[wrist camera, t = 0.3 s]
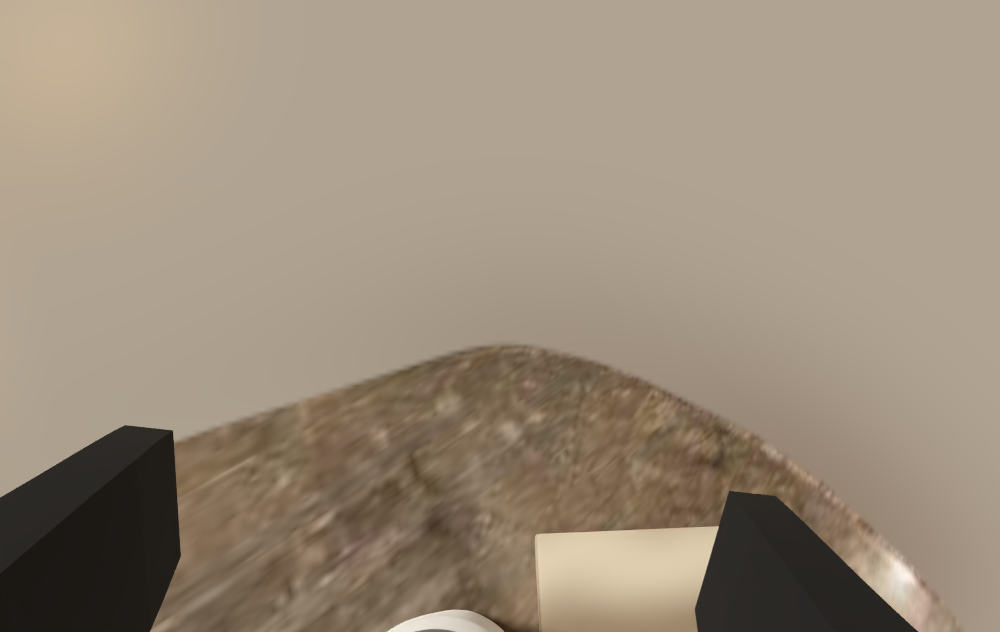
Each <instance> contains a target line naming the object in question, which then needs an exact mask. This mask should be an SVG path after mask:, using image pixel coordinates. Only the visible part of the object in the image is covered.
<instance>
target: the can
mask: <svg viewBox="0 0 1000 632" xmlns="http://www.w3.org/2000/svg"><path fill="white" fill-rule="evenodd" d="M388 632H504V631H503V630H502V629H501V628H500V627H499V626H498V625H497V624H495V623H494V622H492V621H491V620H489V619H488V618H486V617H484V616H482V615H480V614H478V613H475V612H472V611H467V610H447V611H441V612H436V613H431V614H427V615H423V616H419V617H416V618H413V619H410V620H408V621H405V622H403V623H401V624H399V625H397V626H396V627H394V628H392V629H391V630H389V631H388Z"/></svg>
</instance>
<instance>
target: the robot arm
mask: <svg viewBox="0 0 1000 632" xmlns="http://www.w3.org/2000/svg"><path fill="white" fill-rule="evenodd" d="M180 557H181V553H180V537H179V521H178V505H177V488H176V472H175V456H174V440H173V431H172V430H162V429H154V428H145V427H135V426H126V425H125V426H123V427H121V428H119V429H117V430H115V431H113V432H111V433H110V434H108V435H106V436H104V437H102V438H101V439H99V440H97V441H95V442H94V443H92V444H90V445H89V446H87V447H85V448H83V449H82V450H80V451H79V452H77V453H75V454H73V455H72V456H70V457H69V458H67V459H65V460H63V461H62V462H60V463H58V464H57V465H55V466H53V467H52V468H50V469H48V470H47V471H45V472H43V473H42V474H40V475H38V476H37V477H35V478H33V479H31V480H30V481H28V482H26V483H25V484H23V485H21V486H20V487H18V488H16V489H14V490H13V491H11V492H9V493H7V494H6V495H4V496H2V497H1V498H0V632H150V630H151V628H152V625H153V623H154V621H155V618H156V616H157V614H158V611H159V609H160V607H161V604H162V602H163V600H164V597H165V595H166V592H167V590H168V587H169V585H170V582H171V580H172V577H173V574H174V572H175V569H176V567H177V564H178V562H179V559H180ZM695 616H696V623H697V630H698V632H918V631H917V630H916V629H914V628H913V627H912V626H911V625H910V624H909V623H908V622H907V621H906V620H905V619H904V618H902V617H901V616H900V615H899V614H898V613H897V612H896V611H895V610H894V609H893V608H892V607H891V606H890V605H888V604H887V603H886V602H885V601H884V600H883V599H882V598H881V597H880V596H879V595H878V594H877V593H876V592H875V591H874V590H873V589H872V588H871V587H870V586H869V585H868V584H866V583H865V582H864V581H863V580H862V579H861V578H860V577H859V576H858V575H857V574H856V573H855V572H854V571H853V570H852V569H851V568H850V567H849V566H848V565H847V564H846V563H845V562H844V561H843V560H842V559H841V558H840V557H839V556H838V555H837V554H836V553H835V552H834V551H833V550H832V549H831V548H830V547H829V546H828V545H827V544H826V543H824V542H823V541H822V540H821V539H820V538H819V537H818V536H817V535H816V534H815V533H814V532H813V531H812V530H811V529H810V528H809V527H808V526H807V525H806V524H805V523H804V522H803V521H802V520H801V519H800V518H799V517H798V516H797V515H796V514H795V513H794V512H793V511H791V510H790V509H789V508H788V507H787V506H786V505H785V504H784V503H783V502H782V501H780V500H779V499H778V498H777V497H776V496H770V495H761V494H752V493H742V492H733V491H729V494H728V497H727V500H726V504H725V507H724V511H723V514H722V518H721V521H720V524H719V528H718V531H717V535H716V538H715V541H714V545H713V548H712V552H711V555H710V559H709V562H708V565H707V569H706V572H705V576H704V579H703V582H702V586H701V589H700V593H699V596H698V600H697V603H696V606H695Z"/></svg>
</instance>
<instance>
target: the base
mask: <svg viewBox="0 0 1000 632" xmlns="http://www.w3.org/2000/svg"><path fill="white" fill-rule="evenodd" d="M718 528H719V526H717V527H693V528H670V529H647V530H623V531H600V532H577V533H553V534H536V536H535V557H536V576H537V594H538V613H539V632H698V630H697V623H696V616H695V606H696V603H697V600H698V596H699V593H700V589H701V586H702V582H703V579H704V576H705V572H706V569H707V565H708V562H709V559H710V555H711V552H712V548H713V545H714V541H715V538H716V535H717V531H718Z"/></svg>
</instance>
